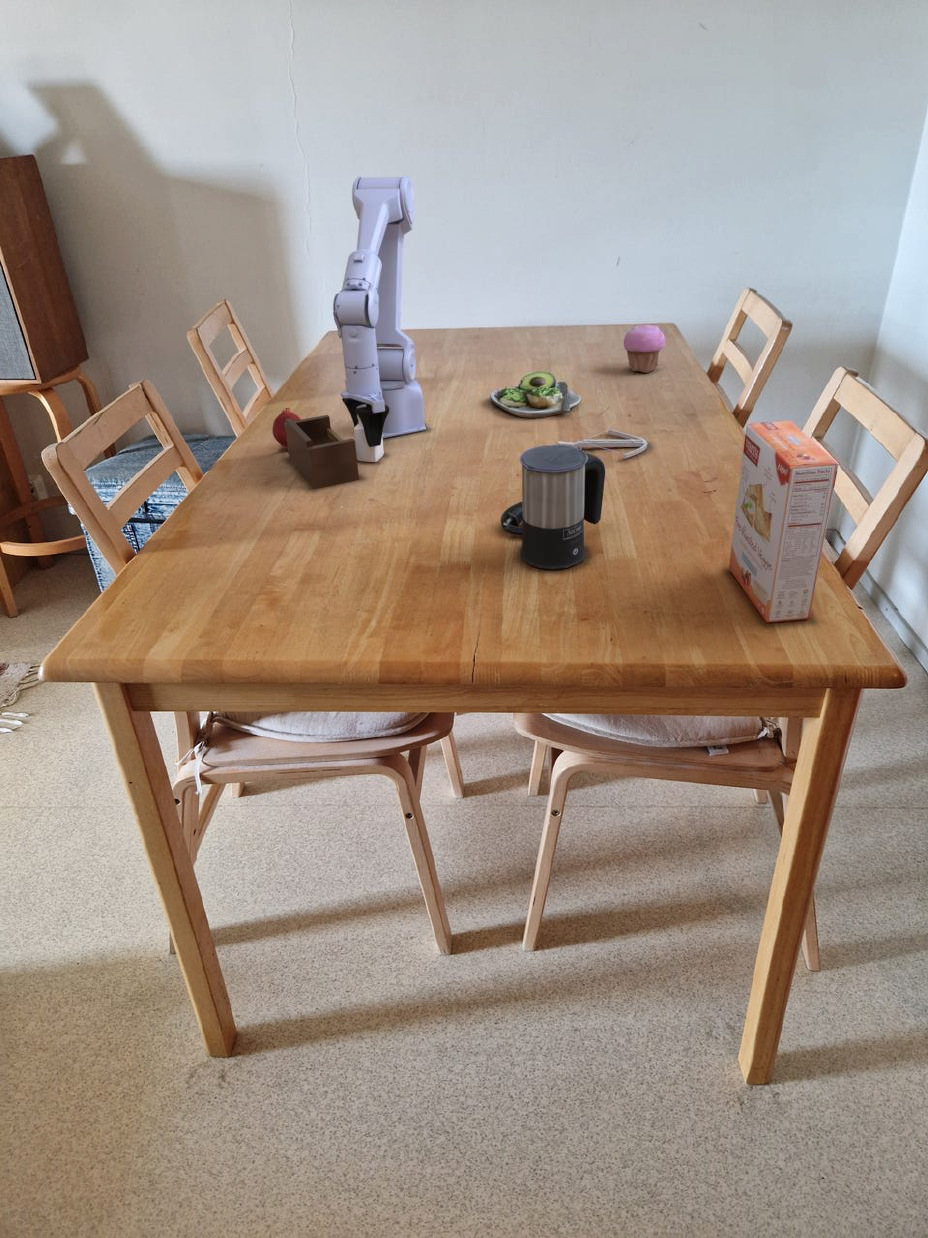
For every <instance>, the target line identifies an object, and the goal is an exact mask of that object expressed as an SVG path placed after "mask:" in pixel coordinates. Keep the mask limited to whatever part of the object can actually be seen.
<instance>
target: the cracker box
mask: <svg viewBox="0 0 928 1238" xmlns="http://www.w3.org/2000/svg"><path fill="white" fill-rule="evenodd" d="M838 468H839V462H838V461H837V460H835V459H834V458H833V456H831V455H830V454H828V452H827V451H825V450H824V449H823V448H822V447H820V446H819V445H818V444H817V443H816V442H815V441H814V440H812V439H811V437H809V436H808V435H807V434H806V433H804V431H802V430H801V429H800V428H799V427H797V426H796V425H795V424H794V423H793V422H792V421H791V420H780V421H763V422H762V421H761V422H753V423H748V424H746V425H745V434H744V442H743V451H742V457H741V467H740V474H739V483H738V491H737V498H736V499H737V500H736V507H735V514H734V523H733V530H732V531H733V533H732V538H731V539H732V540H731V547H730V555H729V562H728V569H729V571H730V572H731V574H732V576H733V577H734V578H735V579H736V581H737V582H738V584H739V585H740V586H741V588H742V589H743V591H744V592H745V594H746V595H747V597H748V598H749V600H750V601H751V602H752V604H753V606H754V607H755V609H756V610H757V611H758V613H759V614H760V616H761V617H762V619H763V620H764V622H765V623H767V624H768V623H778V622H779V623H780V622H789V621H790V622H791V621H801V620H809V619H810V618H811V614H812V609H813V604H814V598H815V597H814V596H815V592H816V587H817V581H818V575H819V570H820V566H821V561H822V560H821V559H822V554H823V550H824V545H825V540H826V534H827V527H828V522H829V517H830V513H831V512H830V511H831V508H832V507H831V506H832V501H833V496H834V491H835V486H836V481H837V475H838V471H839V470H838Z"/></svg>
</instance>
